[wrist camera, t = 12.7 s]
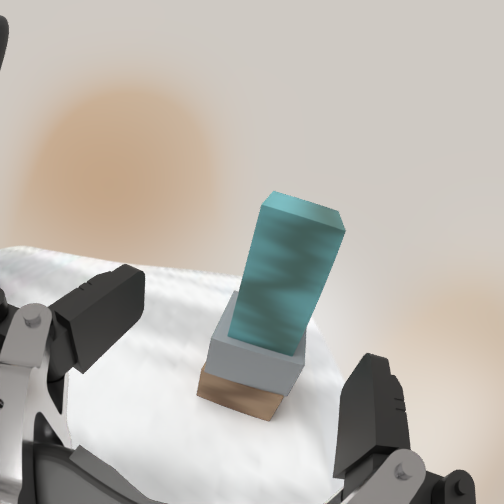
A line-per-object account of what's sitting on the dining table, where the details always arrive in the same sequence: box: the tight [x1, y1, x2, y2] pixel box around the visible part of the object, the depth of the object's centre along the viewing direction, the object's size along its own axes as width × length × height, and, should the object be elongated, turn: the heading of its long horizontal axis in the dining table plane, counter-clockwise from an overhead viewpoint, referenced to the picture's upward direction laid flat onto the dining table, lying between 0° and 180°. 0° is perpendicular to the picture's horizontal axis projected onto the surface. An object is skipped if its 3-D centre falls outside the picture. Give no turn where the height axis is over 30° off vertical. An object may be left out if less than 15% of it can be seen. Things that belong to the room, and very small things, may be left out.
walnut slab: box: [197, 362, 284, 421], centre depth 24 cm, size 7×7×4 cm
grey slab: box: [204, 291, 306, 396], centre depth 23 cm, size 7×7×4 cm
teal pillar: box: [227, 191, 345, 357], centre depth 20 cm, size 5×5×10 cm
